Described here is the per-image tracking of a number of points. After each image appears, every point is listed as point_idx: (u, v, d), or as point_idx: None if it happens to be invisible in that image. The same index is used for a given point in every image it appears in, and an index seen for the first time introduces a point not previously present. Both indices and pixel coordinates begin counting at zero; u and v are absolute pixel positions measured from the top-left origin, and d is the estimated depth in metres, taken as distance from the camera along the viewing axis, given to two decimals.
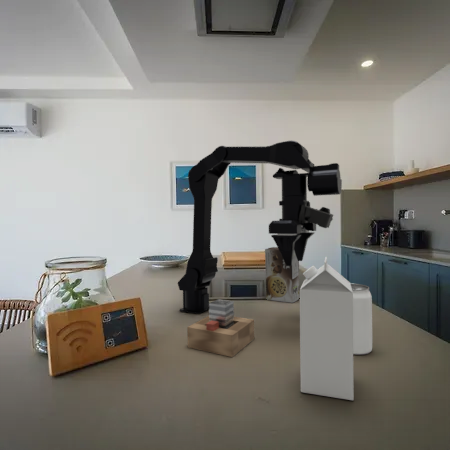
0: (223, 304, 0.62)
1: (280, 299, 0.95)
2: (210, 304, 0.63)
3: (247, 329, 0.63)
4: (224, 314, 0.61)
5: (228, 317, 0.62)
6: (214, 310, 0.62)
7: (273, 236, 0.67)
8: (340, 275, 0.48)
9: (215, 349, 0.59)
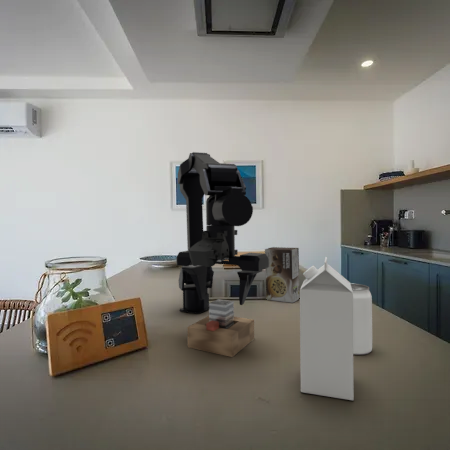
0: (223, 304, 0.62)
1: (280, 299, 0.95)
2: (210, 304, 0.63)
3: (247, 329, 0.63)
4: (224, 314, 0.61)
5: (228, 317, 0.62)
6: (214, 310, 0.62)
7: None
8: (340, 275, 0.48)
9: (215, 349, 0.59)
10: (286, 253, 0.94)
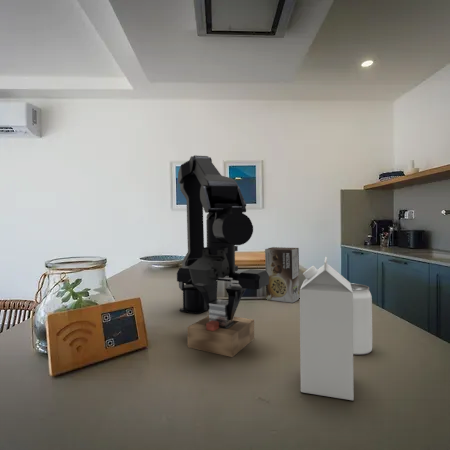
0: (223, 304, 0.62)
1: (280, 299, 0.95)
2: (210, 304, 0.63)
3: (247, 329, 0.63)
4: (224, 314, 0.61)
5: None
6: (214, 310, 0.62)
7: None
8: (340, 275, 0.48)
9: (215, 349, 0.59)
10: (286, 253, 0.94)
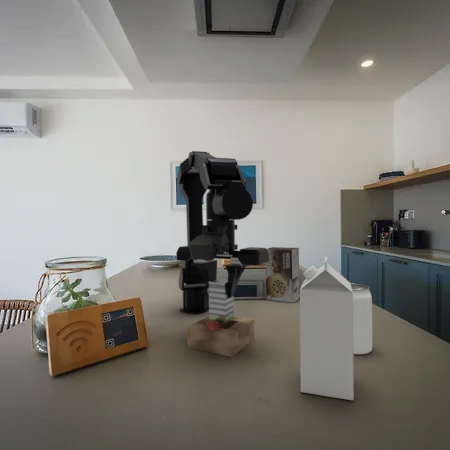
0: (223, 282, 0.62)
1: (280, 299, 0.95)
2: (210, 282, 0.63)
3: (247, 329, 0.63)
4: (224, 292, 0.61)
5: None
6: (214, 288, 0.62)
7: None
8: (340, 275, 0.48)
9: (215, 349, 0.59)
10: (286, 253, 0.94)
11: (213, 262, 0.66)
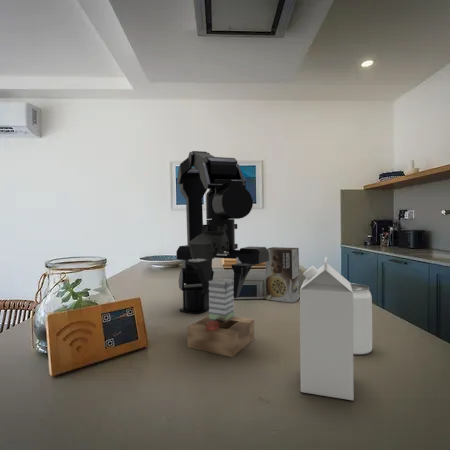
0: (223, 281, 0.62)
1: (280, 299, 0.95)
2: (210, 282, 0.63)
3: (247, 329, 0.63)
4: (224, 291, 0.61)
5: (228, 294, 0.62)
6: (214, 287, 0.62)
7: None
8: (340, 275, 0.48)
9: (215, 349, 0.59)
10: (286, 253, 0.94)
11: (208, 261, 0.66)
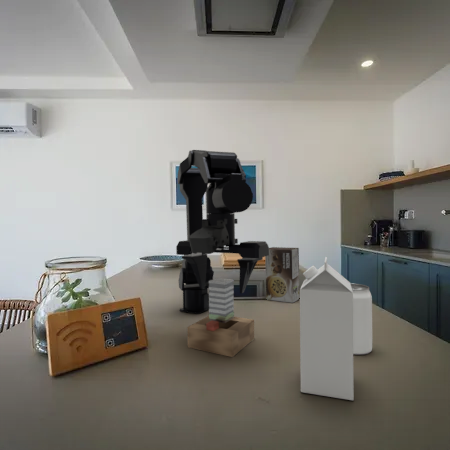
0: (223, 281, 0.62)
1: (280, 299, 0.95)
2: (210, 282, 0.63)
3: (247, 329, 0.63)
4: (224, 291, 0.61)
5: (228, 294, 0.62)
6: (214, 287, 0.62)
7: None
8: (340, 275, 0.48)
9: (215, 349, 0.59)
10: (286, 253, 0.94)
11: (203, 256, 0.67)
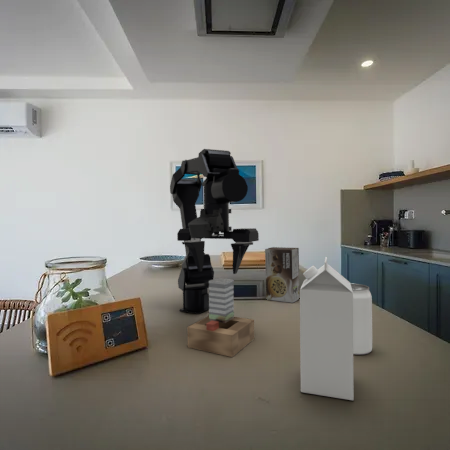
0: (223, 281, 0.62)
1: (280, 299, 0.95)
2: (210, 282, 0.63)
3: (247, 329, 0.63)
4: (224, 291, 0.61)
5: (228, 294, 0.62)
6: (214, 287, 0.62)
7: None
8: (340, 275, 0.48)
9: (215, 349, 0.59)
10: (286, 253, 0.94)
11: (201, 242, 0.76)
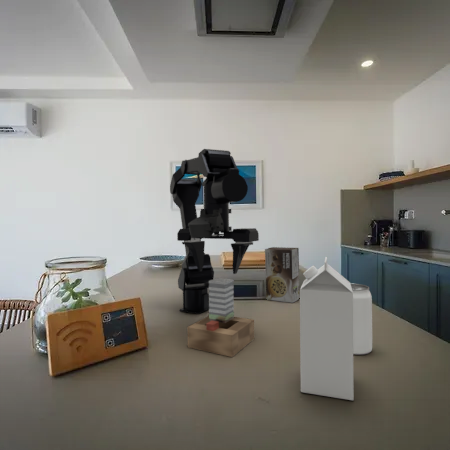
0: (223, 281, 0.62)
1: (280, 299, 0.95)
2: (210, 282, 0.63)
3: (247, 329, 0.63)
4: (224, 291, 0.61)
5: (228, 294, 0.62)
6: (214, 287, 0.62)
7: None
8: (340, 275, 0.48)
9: (215, 349, 0.59)
10: (286, 253, 0.94)
11: (201, 242, 0.76)
